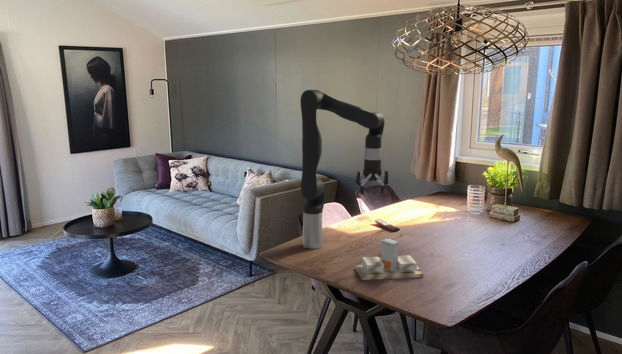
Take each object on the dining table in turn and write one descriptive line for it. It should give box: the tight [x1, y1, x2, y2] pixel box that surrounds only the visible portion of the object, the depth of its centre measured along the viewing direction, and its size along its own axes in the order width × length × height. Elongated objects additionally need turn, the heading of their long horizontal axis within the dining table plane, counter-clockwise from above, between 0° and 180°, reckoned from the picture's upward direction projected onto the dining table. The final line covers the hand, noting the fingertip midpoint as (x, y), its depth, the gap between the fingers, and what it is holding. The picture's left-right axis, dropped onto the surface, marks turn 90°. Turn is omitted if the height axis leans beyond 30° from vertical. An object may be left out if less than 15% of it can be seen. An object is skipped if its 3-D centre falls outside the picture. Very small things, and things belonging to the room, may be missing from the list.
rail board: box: [355, 255, 424, 281], centre depth 197 cm, size 26×12×6 cm, turn 97°
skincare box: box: [380, 238, 400, 271], centre depth 196 cm, size 6×4×12 cm
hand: (371, 193), depth 209 cm, fingers open, 8 cm apart
